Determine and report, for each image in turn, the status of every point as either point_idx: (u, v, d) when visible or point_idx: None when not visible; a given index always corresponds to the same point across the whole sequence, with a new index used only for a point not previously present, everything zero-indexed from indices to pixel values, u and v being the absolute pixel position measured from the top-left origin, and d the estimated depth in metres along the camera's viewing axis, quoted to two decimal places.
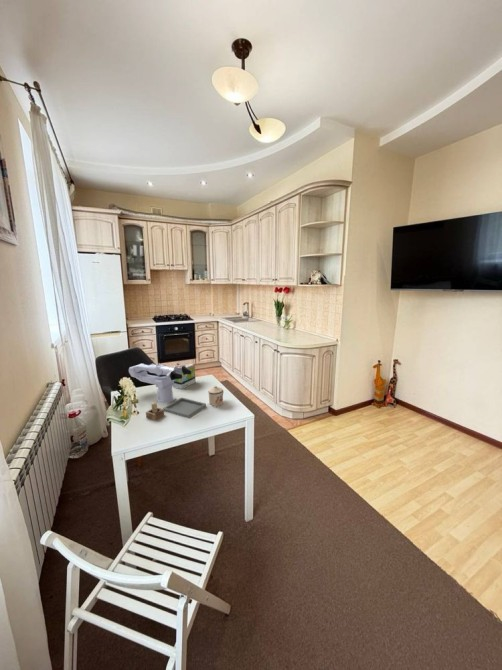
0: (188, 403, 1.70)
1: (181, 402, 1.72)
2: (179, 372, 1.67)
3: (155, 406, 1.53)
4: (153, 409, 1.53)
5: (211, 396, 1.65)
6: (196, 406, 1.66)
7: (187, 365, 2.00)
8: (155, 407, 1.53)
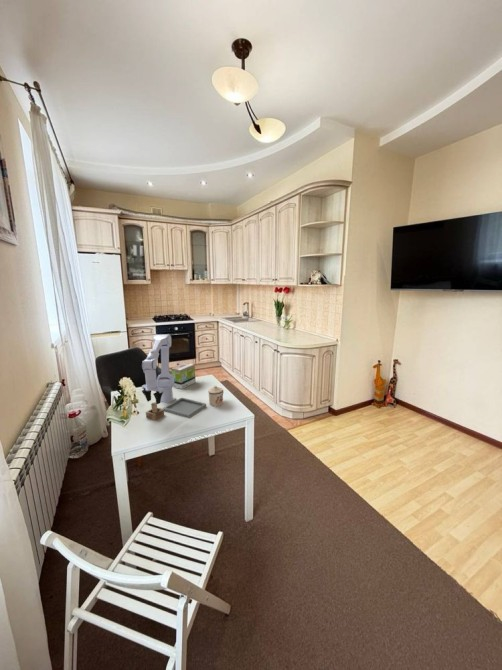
0: (188, 403, 1.70)
1: (181, 402, 1.72)
2: None
3: (155, 406, 1.53)
4: (153, 409, 1.53)
5: (211, 396, 1.65)
6: (196, 406, 1.66)
7: (187, 365, 2.00)
8: (155, 407, 1.53)
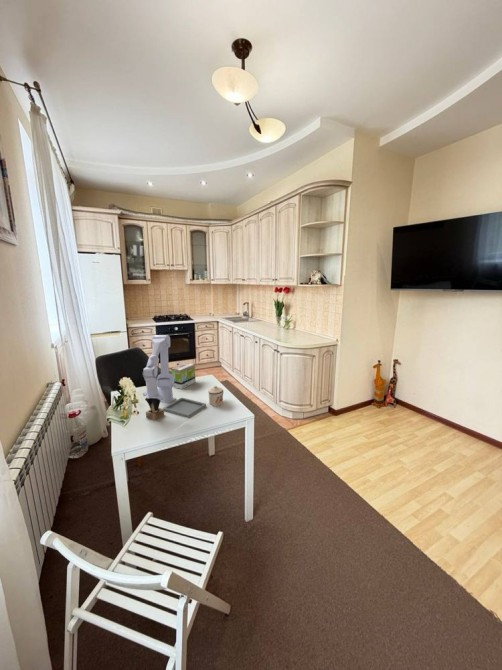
0: (188, 403, 1.70)
1: (181, 402, 1.72)
2: None
3: None
4: (153, 409, 1.53)
5: (211, 396, 1.65)
6: (196, 406, 1.66)
7: (187, 365, 2.00)
8: None
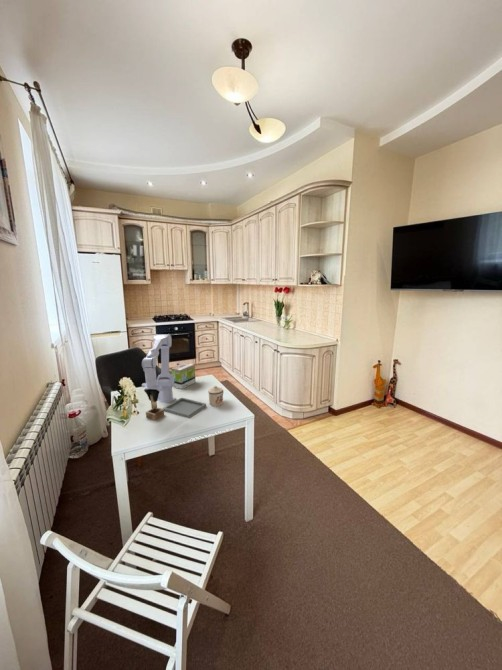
0: (188, 403, 1.70)
1: (181, 402, 1.72)
2: None
3: None
4: (152, 400, 1.52)
5: (211, 396, 1.65)
6: (196, 406, 1.66)
7: (187, 365, 2.00)
8: None
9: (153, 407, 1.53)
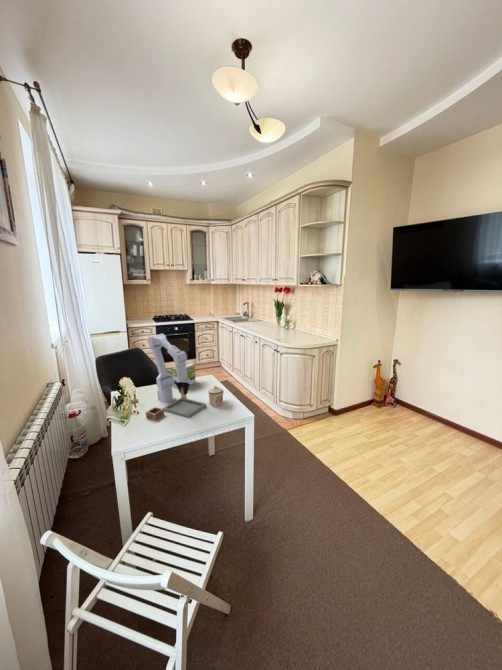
0: (188, 403, 1.70)
1: (181, 402, 1.72)
2: None
3: None
4: (182, 393, 1.60)
5: (211, 396, 1.65)
6: (196, 406, 1.66)
7: (187, 365, 2.00)
8: None
9: (183, 399, 1.61)
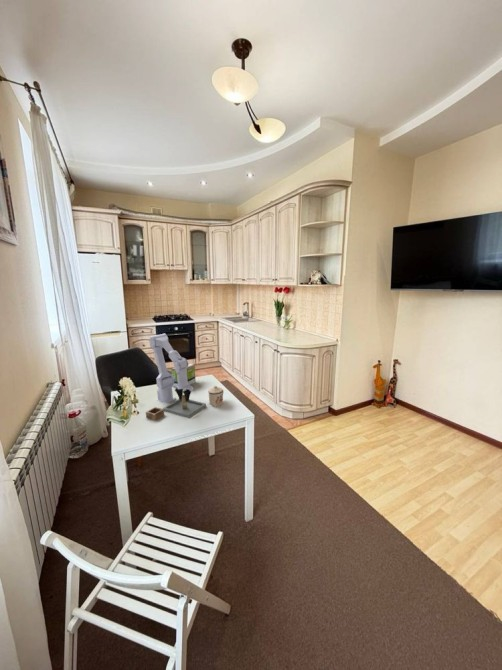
0: (188, 403, 1.70)
1: (181, 402, 1.72)
2: (185, 389, 1.61)
3: None
4: (183, 401, 1.61)
5: (211, 396, 1.65)
6: (196, 406, 1.66)
7: None
8: None
9: (184, 408, 1.62)
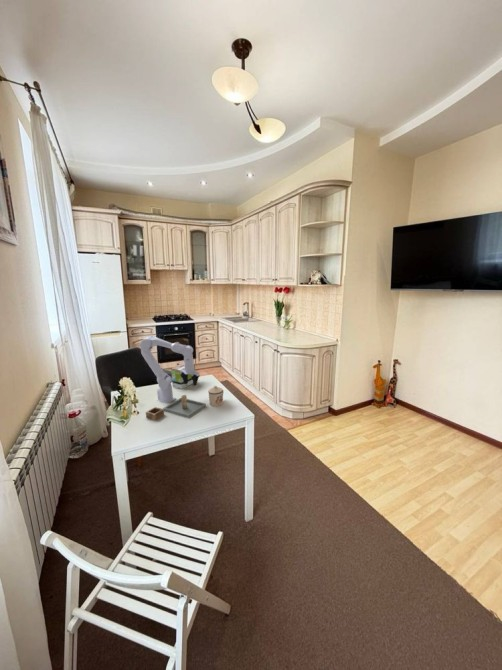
0: (188, 403, 1.70)
1: (181, 402, 1.72)
2: None
3: (185, 398, 1.62)
4: (183, 401, 1.62)
5: (211, 396, 1.65)
6: (196, 406, 1.66)
7: None
8: (185, 399, 1.62)
9: (184, 408, 1.62)
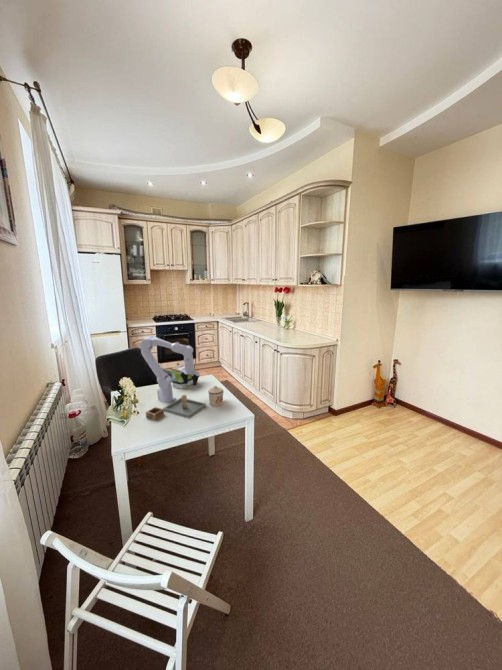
0: (188, 403, 1.70)
1: (181, 402, 1.72)
2: None
3: (185, 398, 1.62)
4: (183, 401, 1.62)
5: (211, 396, 1.65)
6: (196, 406, 1.66)
7: None
8: (185, 399, 1.62)
9: (184, 408, 1.62)
